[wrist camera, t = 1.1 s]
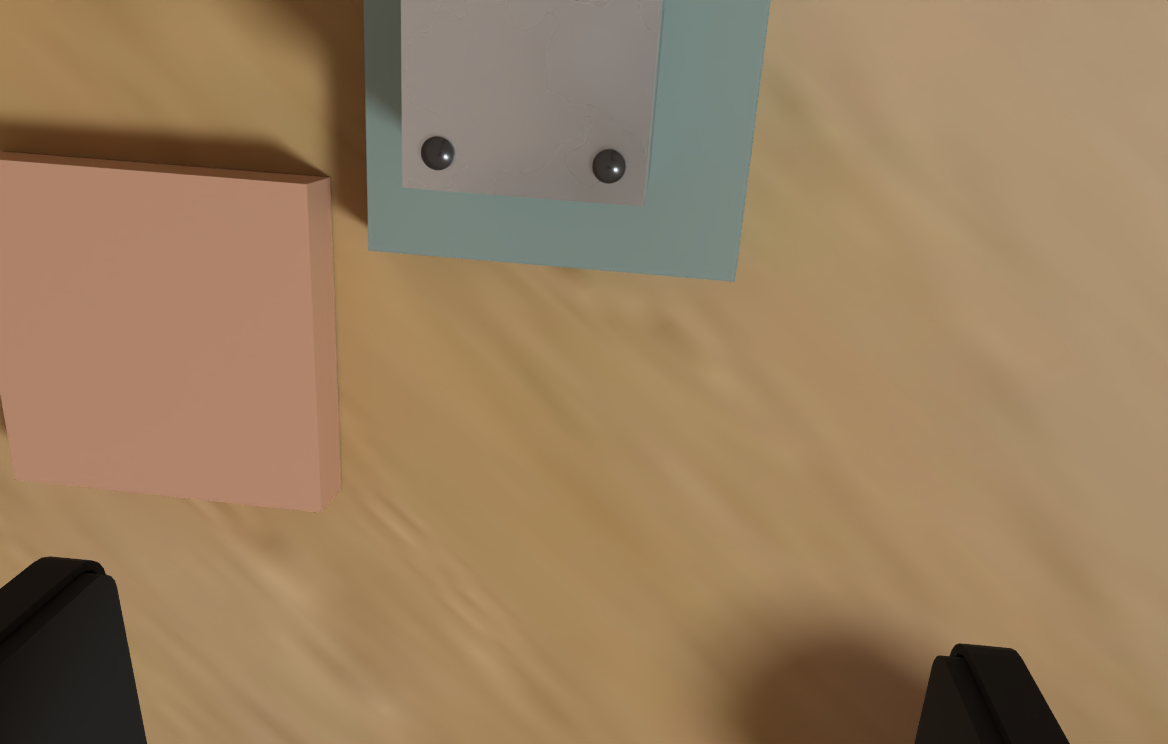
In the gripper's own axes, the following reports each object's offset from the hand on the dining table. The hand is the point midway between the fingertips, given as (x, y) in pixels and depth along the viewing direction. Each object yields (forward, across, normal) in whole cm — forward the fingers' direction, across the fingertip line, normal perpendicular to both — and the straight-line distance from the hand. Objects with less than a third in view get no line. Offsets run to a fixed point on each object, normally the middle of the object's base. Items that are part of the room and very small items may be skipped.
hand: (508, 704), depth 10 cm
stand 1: (+21, +16, +3) cm, 27 cm away
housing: (+19, +2, -6) cm, 20 cm away
